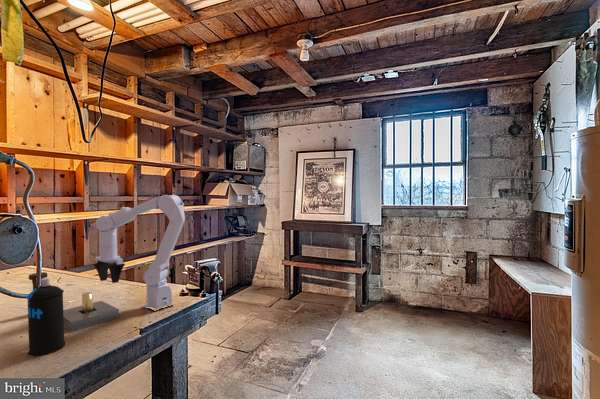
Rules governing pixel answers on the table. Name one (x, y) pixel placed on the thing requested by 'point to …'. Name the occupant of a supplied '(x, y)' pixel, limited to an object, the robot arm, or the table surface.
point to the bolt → (34, 276)
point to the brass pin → (87, 302)
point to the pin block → (89, 316)
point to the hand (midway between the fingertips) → (109, 281)
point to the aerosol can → (45, 319)
